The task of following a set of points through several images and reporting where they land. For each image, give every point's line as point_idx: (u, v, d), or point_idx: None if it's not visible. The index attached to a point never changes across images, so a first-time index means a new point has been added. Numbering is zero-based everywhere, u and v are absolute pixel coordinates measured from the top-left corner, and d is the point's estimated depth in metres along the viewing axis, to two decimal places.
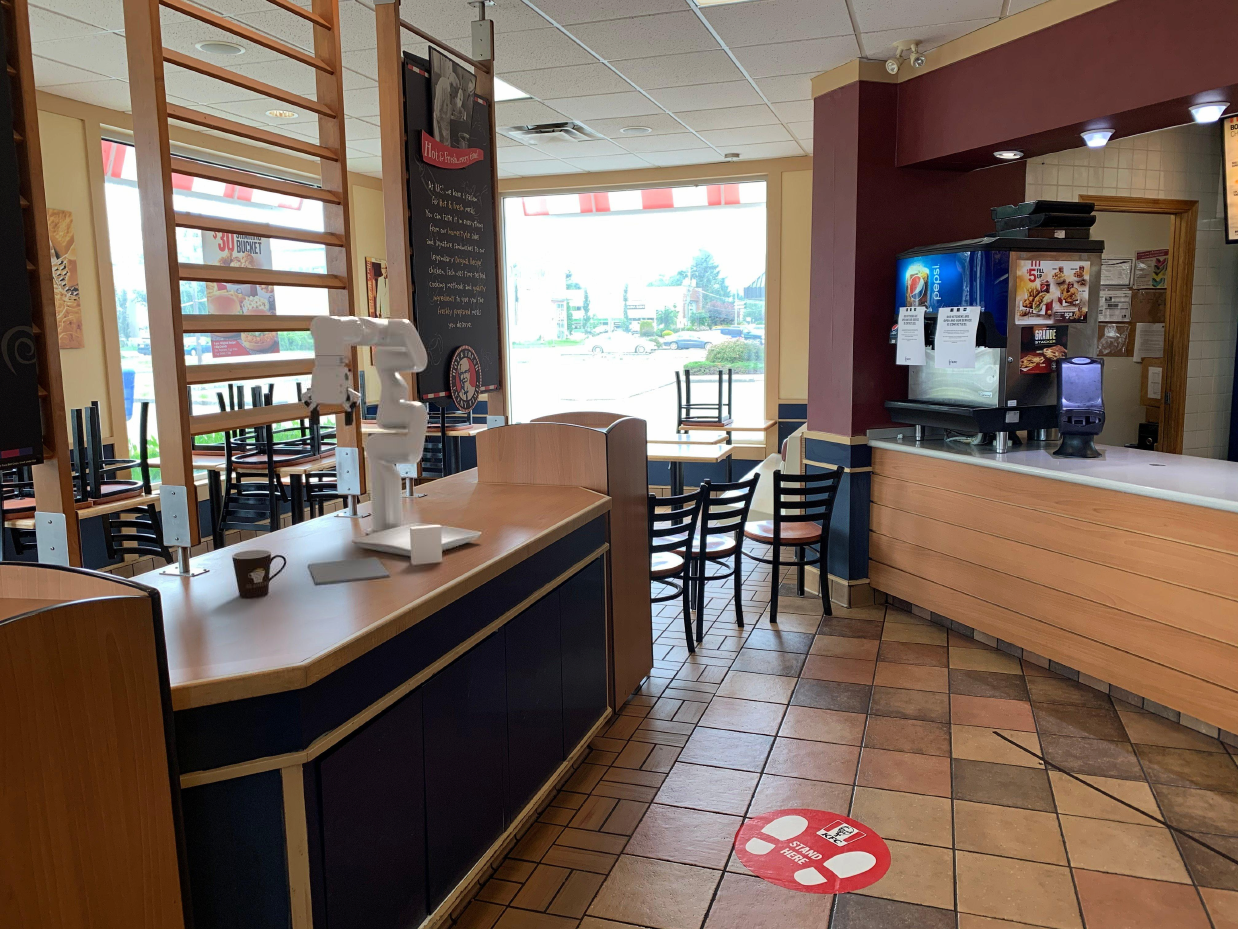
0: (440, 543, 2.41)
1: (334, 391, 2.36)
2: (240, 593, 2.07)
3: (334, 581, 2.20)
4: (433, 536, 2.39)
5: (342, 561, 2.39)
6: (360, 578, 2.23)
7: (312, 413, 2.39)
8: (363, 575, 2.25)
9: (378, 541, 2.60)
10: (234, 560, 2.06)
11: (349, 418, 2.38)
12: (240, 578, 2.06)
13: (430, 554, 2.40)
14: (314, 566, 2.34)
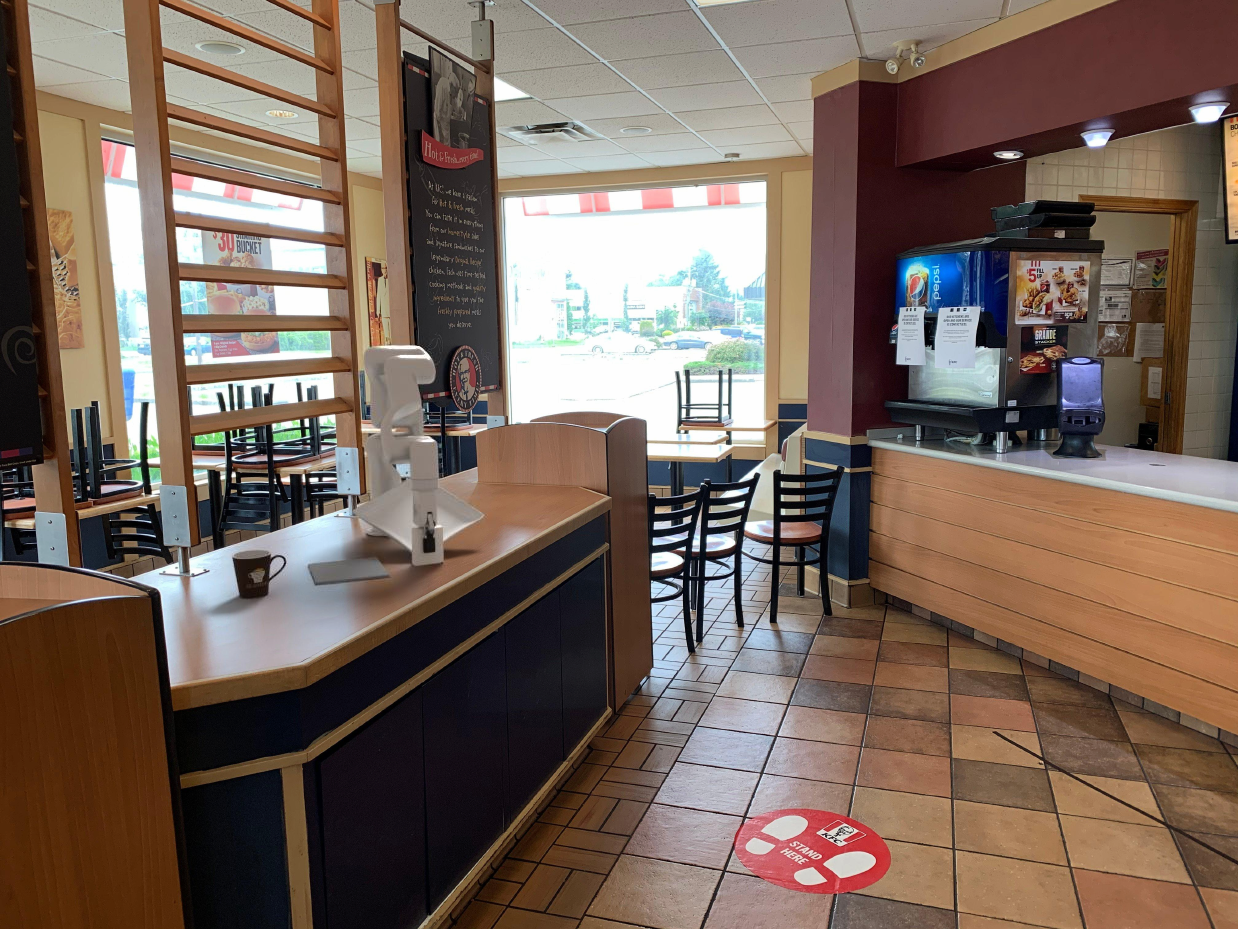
0: (442, 544, 2.40)
1: None
2: (240, 593, 2.07)
3: (334, 581, 2.20)
4: (435, 537, 2.39)
5: (342, 561, 2.39)
6: (360, 578, 2.23)
7: None
8: (363, 575, 2.25)
9: (379, 508, 2.56)
10: (234, 560, 2.06)
11: None
12: (240, 578, 2.06)
13: (432, 555, 2.39)
14: (314, 566, 2.34)
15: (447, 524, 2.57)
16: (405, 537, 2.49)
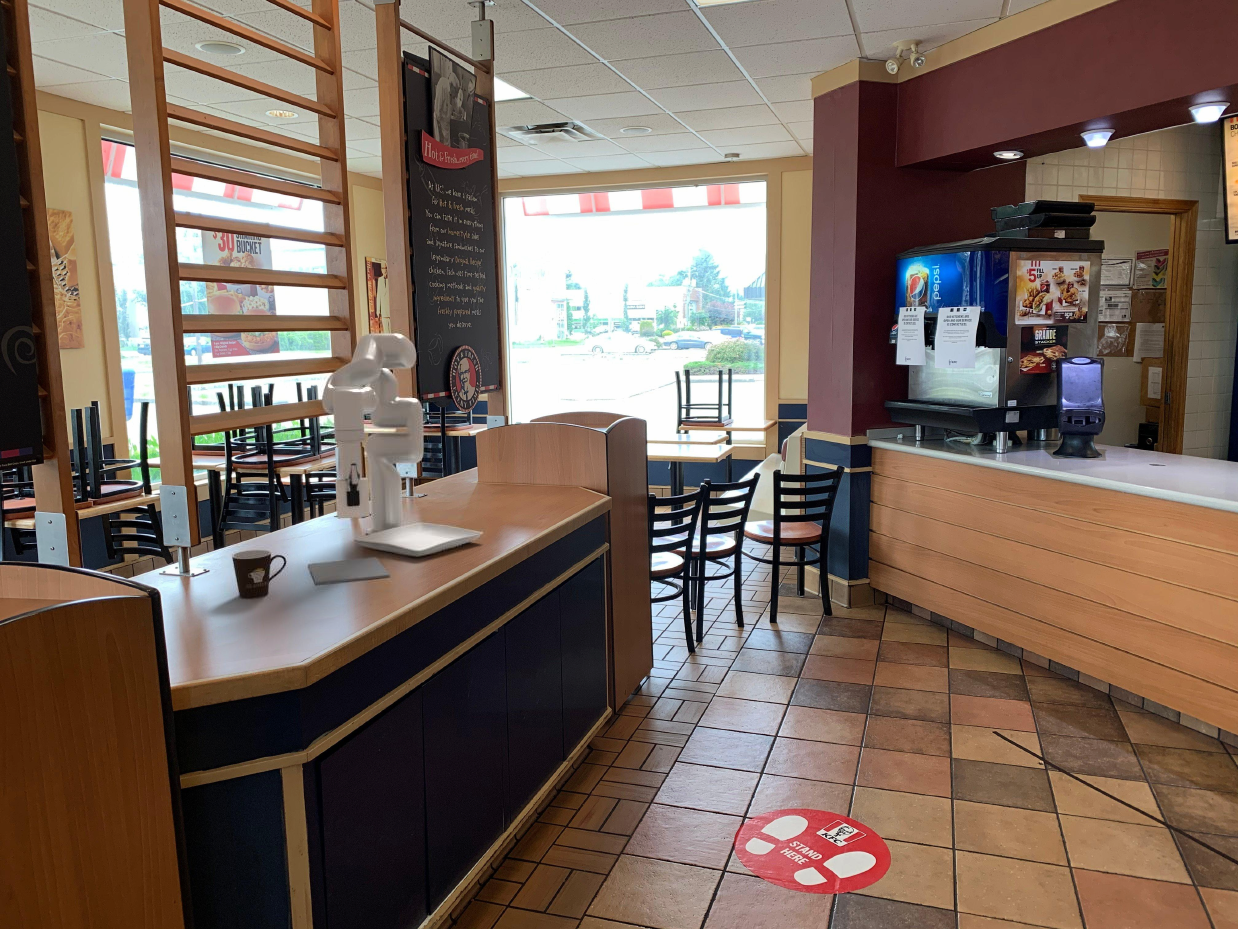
0: (367, 496, 2.33)
1: None
2: (240, 593, 2.07)
3: (334, 581, 2.20)
4: (360, 489, 2.32)
5: (342, 561, 2.39)
6: (360, 578, 2.23)
7: None
8: (363, 575, 2.25)
9: (380, 540, 2.62)
10: (234, 560, 2.06)
11: None
12: (240, 578, 2.06)
13: (357, 508, 2.33)
14: (314, 566, 2.34)
15: None
16: None
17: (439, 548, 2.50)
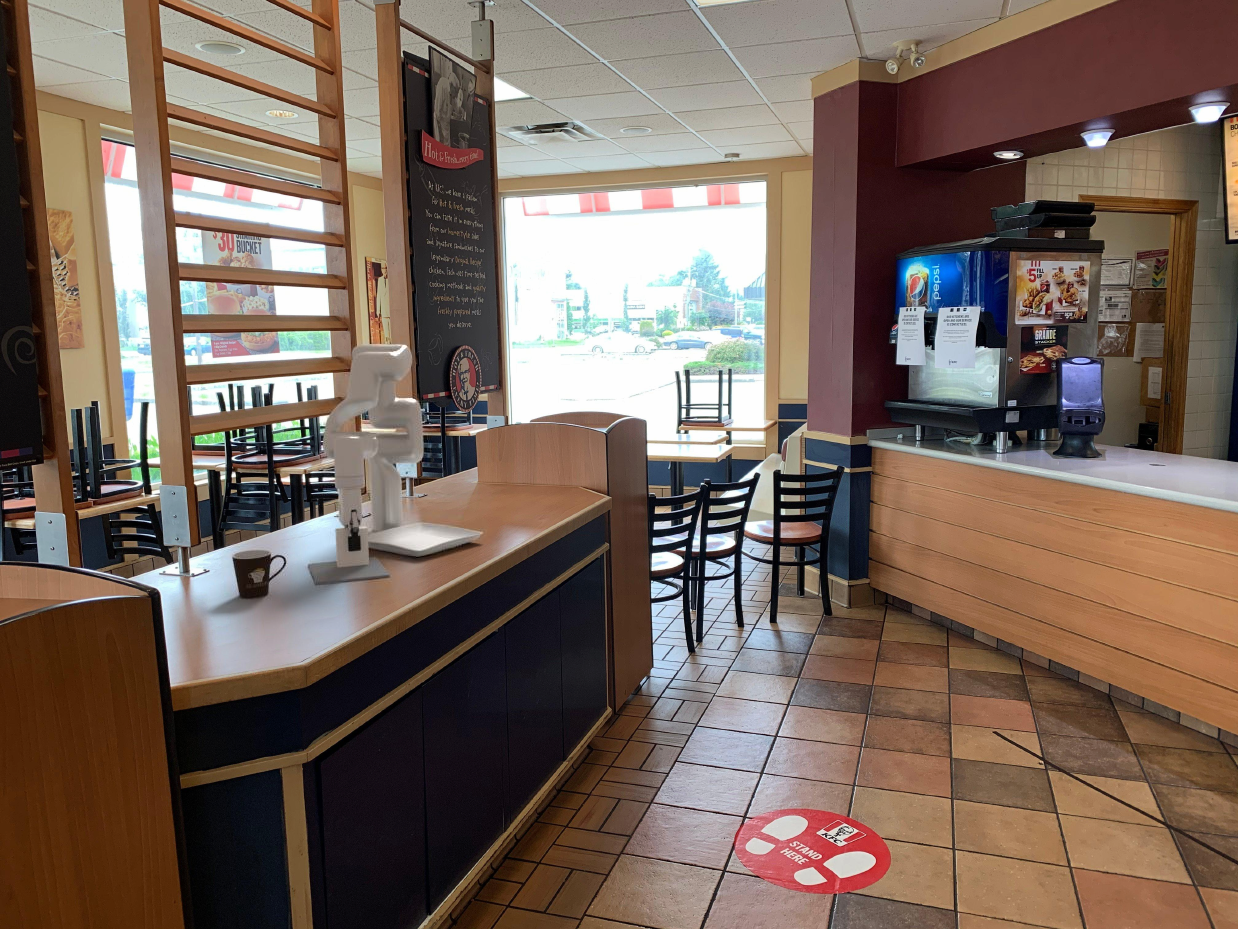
0: (367, 545, 2.35)
1: None
2: (240, 593, 2.07)
3: (334, 581, 2.20)
4: None
5: None
6: (360, 578, 2.23)
7: None
8: (363, 575, 2.25)
9: (380, 540, 2.62)
10: (234, 560, 2.06)
11: None
12: (240, 578, 2.06)
13: (356, 556, 2.34)
14: (314, 566, 2.34)
15: None
16: None
17: (439, 548, 2.50)
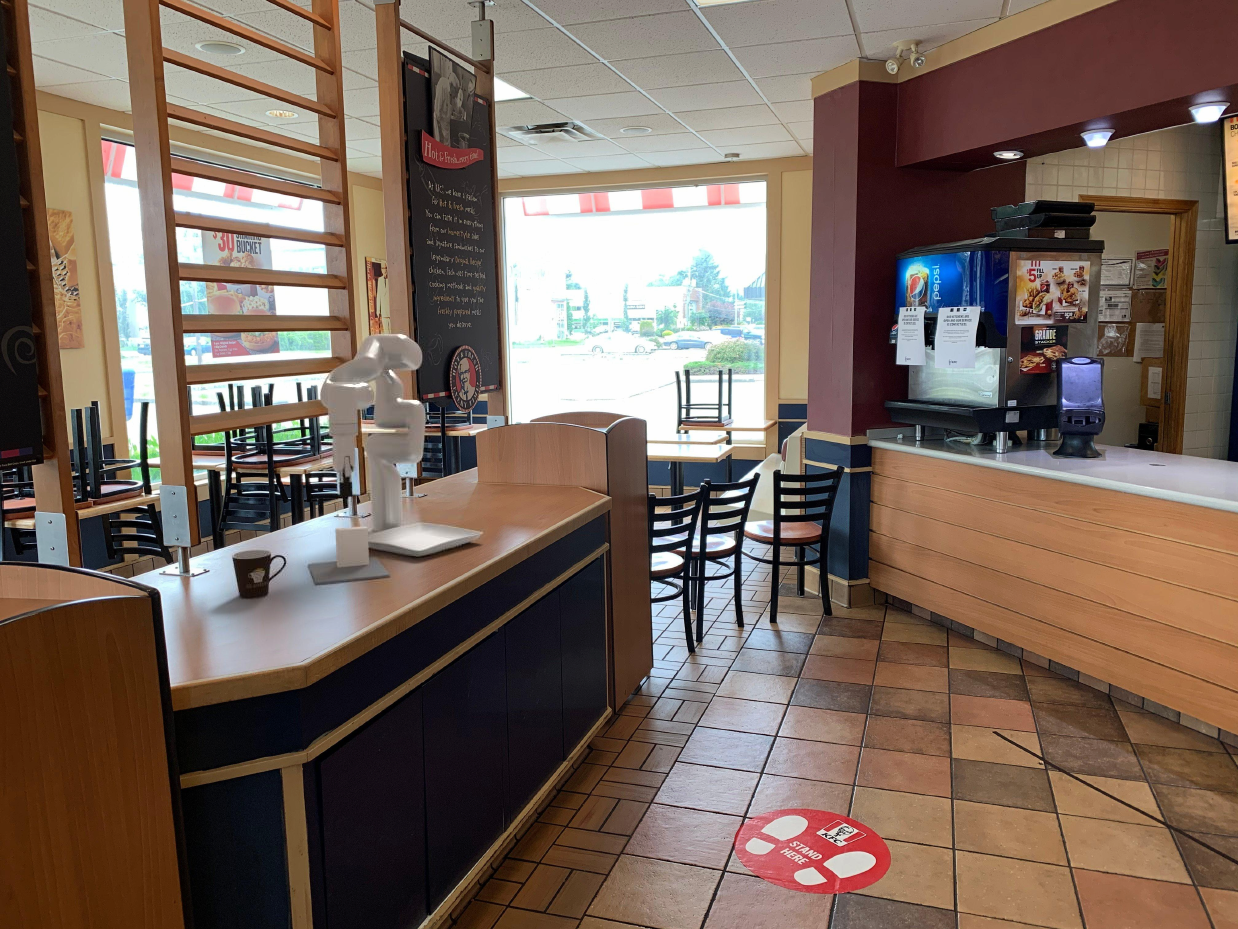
0: (367, 545, 2.35)
1: None
2: (240, 593, 2.07)
3: (334, 581, 2.20)
4: (359, 538, 2.34)
5: None
6: (360, 578, 2.23)
7: None
8: (363, 575, 2.25)
9: (380, 540, 2.62)
10: (234, 560, 2.06)
11: None
12: (240, 578, 2.06)
13: (356, 556, 2.34)
14: (314, 566, 2.34)
15: None
16: None
17: (439, 548, 2.50)
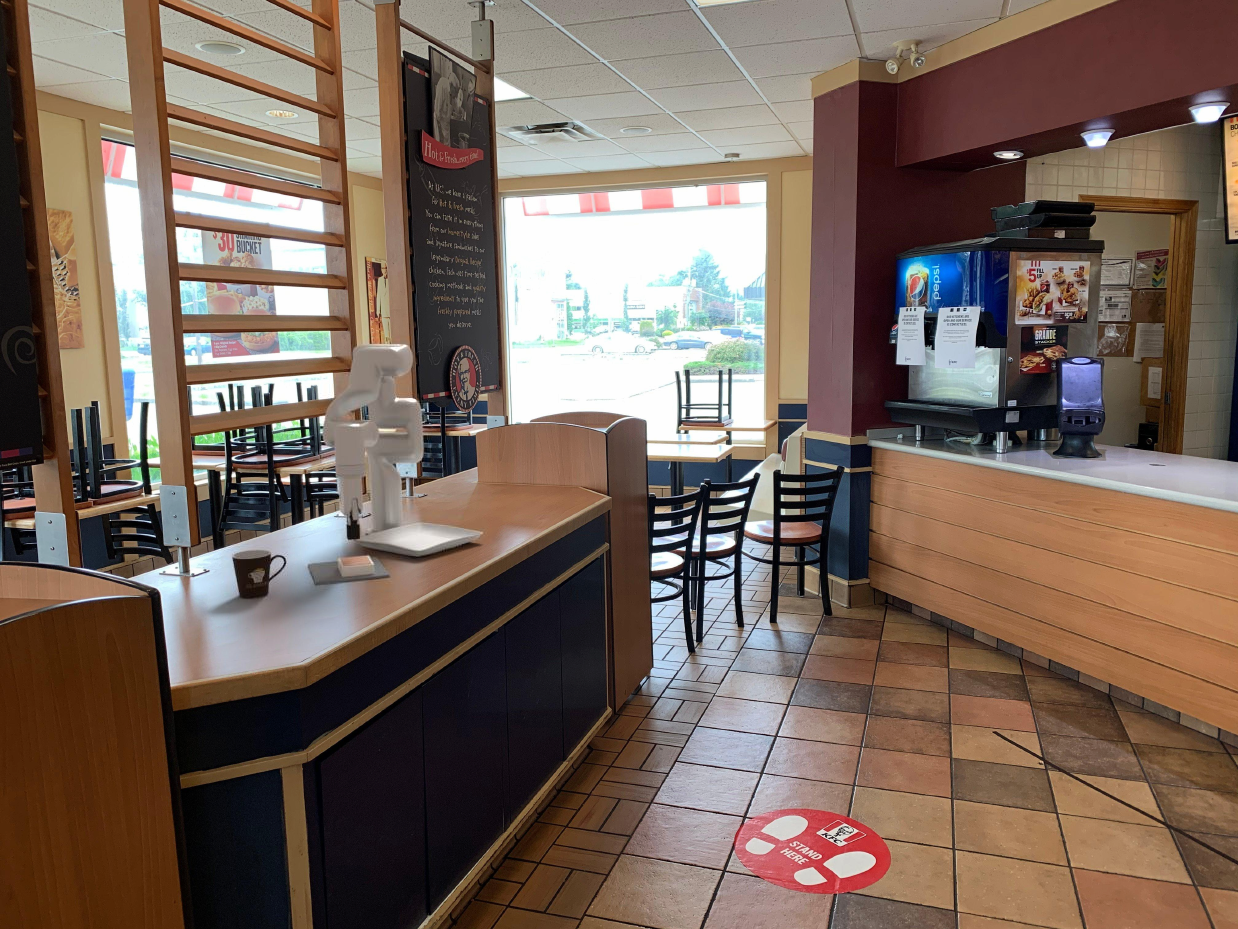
0: None
1: None
2: (240, 593, 2.07)
3: (334, 581, 2.20)
4: None
5: None
6: (360, 578, 2.23)
7: None
8: (363, 575, 2.25)
9: (380, 540, 2.62)
10: (234, 560, 2.06)
11: None
12: (240, 578, 2.06)
13: None
14: (314, 566, 2.34)
15: None
16: None
17: (439, 548, 2.50)
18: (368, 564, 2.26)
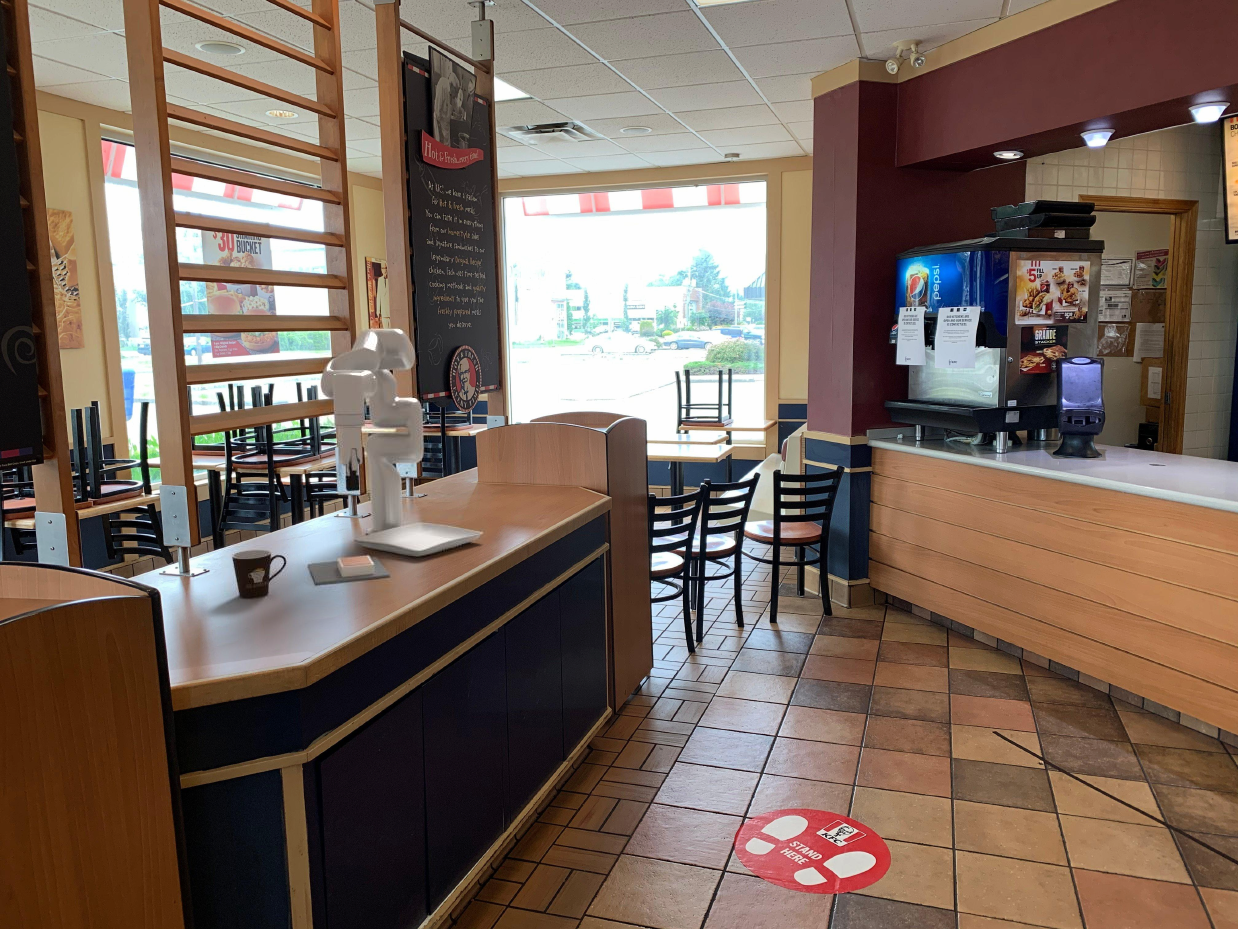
0: None
1: None
2: (240, 593, 2.07)
3: (334, 581, 2.20)
4: None
5: None
6: (360, 578, 2.23)
7: None
8: (363, 575, 2.25)
9: (380, 540, 2.62)
10: (234, 560, 2.06)
11: None
12: (240, 578, 2.06)
13: None
14: (314, 566, 2.34)
15: None
16: None
17: (439, 548, 2.50)
18: (368, 564, 2.26)
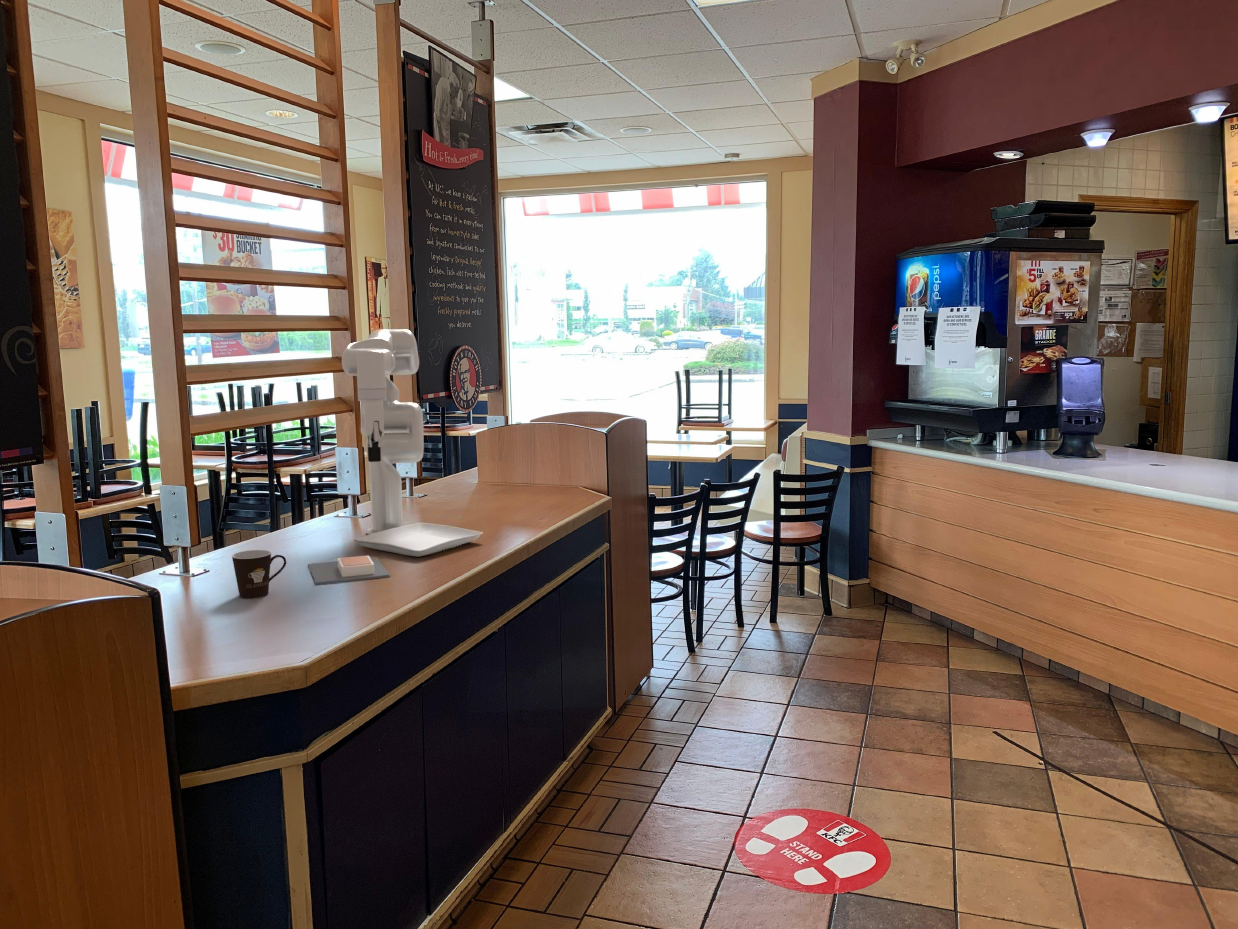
0: None
1: None
2: (240, 593, 2.07)
3: (334, 581, 2.20)
4: None
5: None
6: (360, 578, 2.23)
7: None
8: (363, 575, 2.25)
9: (380, 540, 2.62)
10: (234, 560, 2.06)
11: None
12: (240, 578, 2.06)
13: None
14: (314, 566, 2.34)
15: None
16: None
17: (439, 548, 2.50)
18: (368, 564, 2.26)
